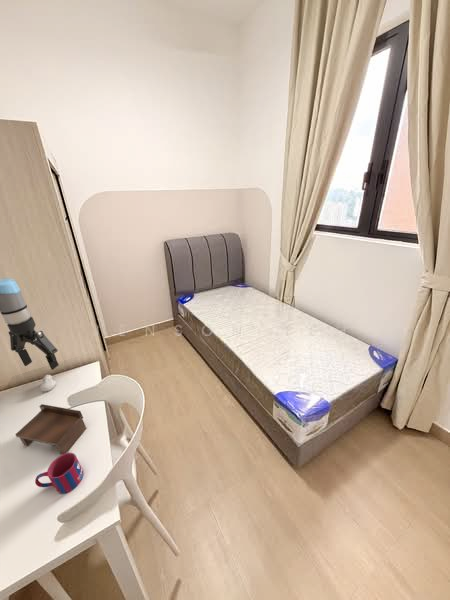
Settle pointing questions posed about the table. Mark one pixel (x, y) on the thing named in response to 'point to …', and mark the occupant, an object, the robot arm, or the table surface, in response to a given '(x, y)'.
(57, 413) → the shelf
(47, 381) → the smooth white sculpture
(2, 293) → the robot arm
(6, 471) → the table surface
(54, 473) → the mug
